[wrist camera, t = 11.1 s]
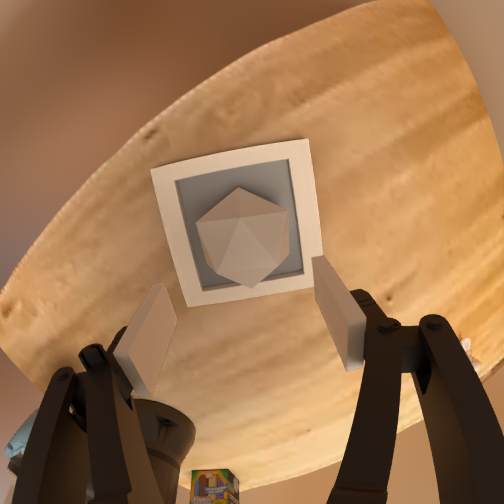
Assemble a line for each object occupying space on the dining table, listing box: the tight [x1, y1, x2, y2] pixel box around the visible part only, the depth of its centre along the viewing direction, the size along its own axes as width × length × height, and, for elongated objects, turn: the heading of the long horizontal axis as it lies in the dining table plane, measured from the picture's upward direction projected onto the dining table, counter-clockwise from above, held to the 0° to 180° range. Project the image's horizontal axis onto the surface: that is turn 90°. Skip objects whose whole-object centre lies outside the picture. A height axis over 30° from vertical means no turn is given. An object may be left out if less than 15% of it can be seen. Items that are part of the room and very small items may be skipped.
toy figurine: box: [460, 338, 481, 373], centre depth 36 cm, size 5×8×7 cm, turn 34°
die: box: [196, 187, 289, 289], centre depth 26 cm, size 8×9×10 cm
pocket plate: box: [150, 139, 323, 308], centre depth 30 cm, size 16×16×2 cm
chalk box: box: [190, 469, 239, 504], centre depth 45 cm, size 9×9×15 cm
